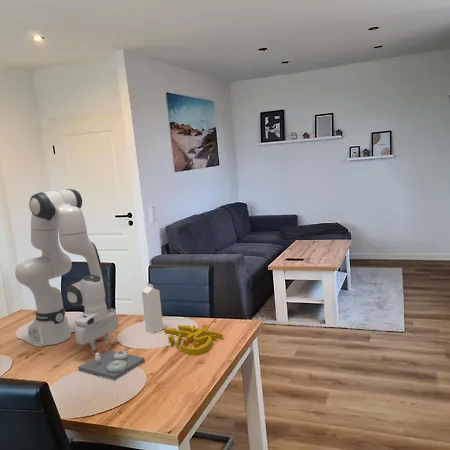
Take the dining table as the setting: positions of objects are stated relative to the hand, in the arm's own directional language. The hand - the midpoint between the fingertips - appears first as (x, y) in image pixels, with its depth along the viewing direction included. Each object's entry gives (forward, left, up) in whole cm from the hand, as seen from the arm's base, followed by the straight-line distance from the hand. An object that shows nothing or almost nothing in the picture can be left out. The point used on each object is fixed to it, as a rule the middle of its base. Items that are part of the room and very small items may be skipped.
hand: (100, 346), depth 180 cm
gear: (0, 0, -2) cm, 2 cm away
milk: (+6, +27, -2) cm, 28 cm away
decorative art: (+28, +23, -3) cm, 36 cm away
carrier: (+15, -8, -2) cm, 17 cm away
